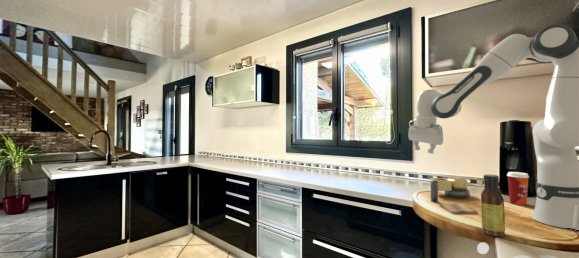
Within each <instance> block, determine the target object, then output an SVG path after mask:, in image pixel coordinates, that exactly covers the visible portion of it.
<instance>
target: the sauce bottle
mask: <svg viewBox="0 0 579 258" xmlns="http://www.w3.org/2000/svg"><path fill="white" fill-rule="evenodd" d="M499 179H500V177H499V175H496V174H489V173H488V174H483V180H484V186H483V187H484V188H483V190H482V191H481V193H480V211H481V212H480V216H481V230H482V232H483V233H484V234H486V235H488V236H491V237H492V236H493V237H504V236H505V233H506V221H505V220H506V216H505V199H504V197H503V195H502V192H501V190H500V187H499Z"/></svg>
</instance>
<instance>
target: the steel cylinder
mask: <svg viewBox="0 0 579 258" xmlns="http://www.w3.org/2000/svg"><path fill="white" fill-rule="evenodd" d="M430 201H431V202H432V201H433V203H438V202H439V191H438V181H437V180H431V185H430Z"/></svg>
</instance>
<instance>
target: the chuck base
mask: <svg viewBox="0 0 579 258" xmlns="http://www.w3.org/2000/svg"><path fill="white" fill-rule="evenodd" d="M443 193H444V196H446V197H450V198H455V199H469V198H470V197H471V191H470V189H468V188H467V191H453V190H452V191H443Z"/></svg>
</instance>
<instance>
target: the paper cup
mask: <svg viewBox="0 0 579 258" xmlns="http://www.w3.org/2000/svg"><path fill="white" fill-rule="evenodd" d="M506 177H507V184H508V196H509V203H510V204H512V205H515V206H527V201H528V189H529V178H530V176H529V174H528V173H526V172H519V171H508V172H507V174H506Z"/></svg>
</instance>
